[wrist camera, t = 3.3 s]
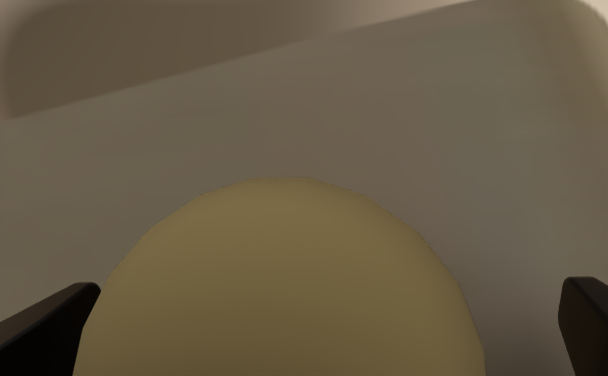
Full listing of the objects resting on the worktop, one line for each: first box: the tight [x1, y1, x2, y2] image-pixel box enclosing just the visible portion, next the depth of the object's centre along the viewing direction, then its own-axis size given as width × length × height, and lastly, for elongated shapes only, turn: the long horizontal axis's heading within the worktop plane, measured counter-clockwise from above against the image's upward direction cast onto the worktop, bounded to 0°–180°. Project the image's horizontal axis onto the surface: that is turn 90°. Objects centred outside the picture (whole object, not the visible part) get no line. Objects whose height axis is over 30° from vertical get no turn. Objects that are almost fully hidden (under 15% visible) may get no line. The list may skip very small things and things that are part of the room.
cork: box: [73, 178, 486, 376], centre depth 9 cm, size 6×6×11 cm
